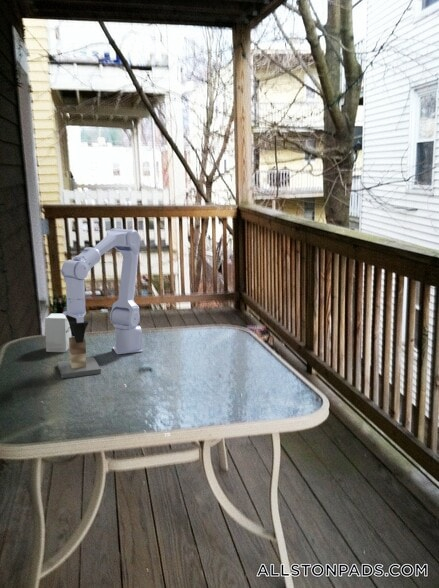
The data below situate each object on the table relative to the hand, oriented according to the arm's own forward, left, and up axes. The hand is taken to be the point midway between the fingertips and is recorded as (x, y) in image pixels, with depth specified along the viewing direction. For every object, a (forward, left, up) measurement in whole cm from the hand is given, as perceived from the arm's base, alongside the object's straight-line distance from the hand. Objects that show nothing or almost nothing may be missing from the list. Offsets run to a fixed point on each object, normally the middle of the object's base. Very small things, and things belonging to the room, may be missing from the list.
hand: (77, 339), depth 170 cm
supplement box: (+3, -24, -11) cm, 26 cm away
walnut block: (0, 0, -4) cm, 4 cm away
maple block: (0, 0, -9) cm, 9 cm away
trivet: (0, 0, -10) cm, 10 cm away
